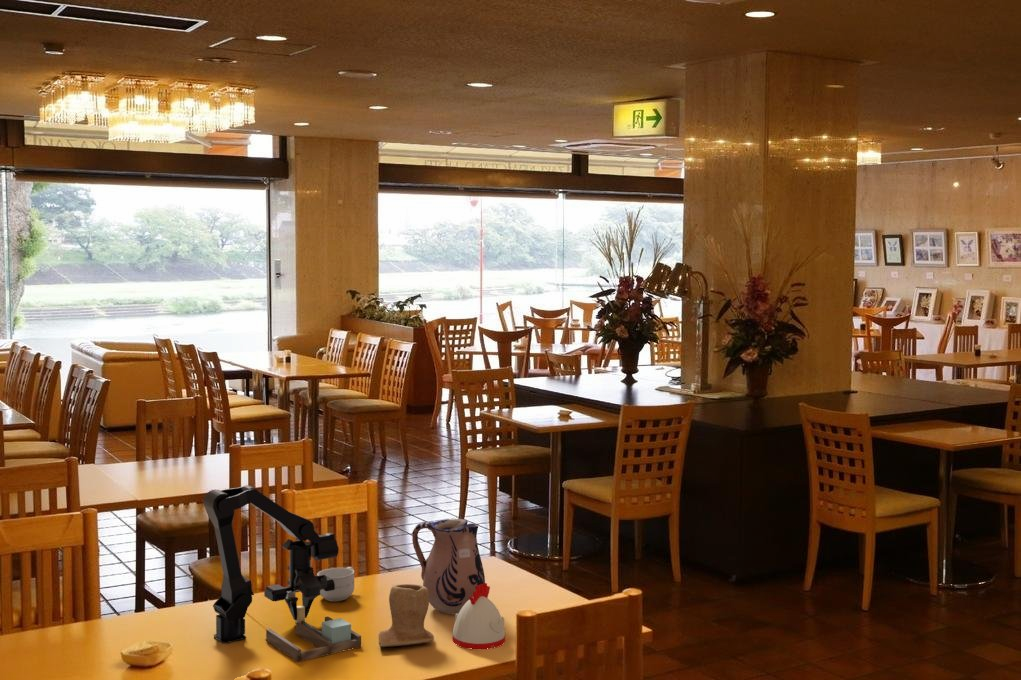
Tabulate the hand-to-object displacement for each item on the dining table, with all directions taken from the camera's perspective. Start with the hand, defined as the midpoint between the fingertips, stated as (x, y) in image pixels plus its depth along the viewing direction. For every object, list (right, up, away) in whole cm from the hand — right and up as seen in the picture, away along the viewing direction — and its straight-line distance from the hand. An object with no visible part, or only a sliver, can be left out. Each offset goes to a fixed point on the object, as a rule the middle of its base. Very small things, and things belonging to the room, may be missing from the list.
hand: (300, 618), depth 304 cm
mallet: (+7, -2, -9) cm, 11 cm away
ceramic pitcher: (+39, -1, +14) cm, 42 cm away
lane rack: (+6, -3, -15) cm, 17 cm away
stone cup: (+29, -3, -12) cm, 32 cm away
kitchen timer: (+49, -3, -10) cm, 50 cm away
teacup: (+7, 0, +23) cm, 24 cm away
